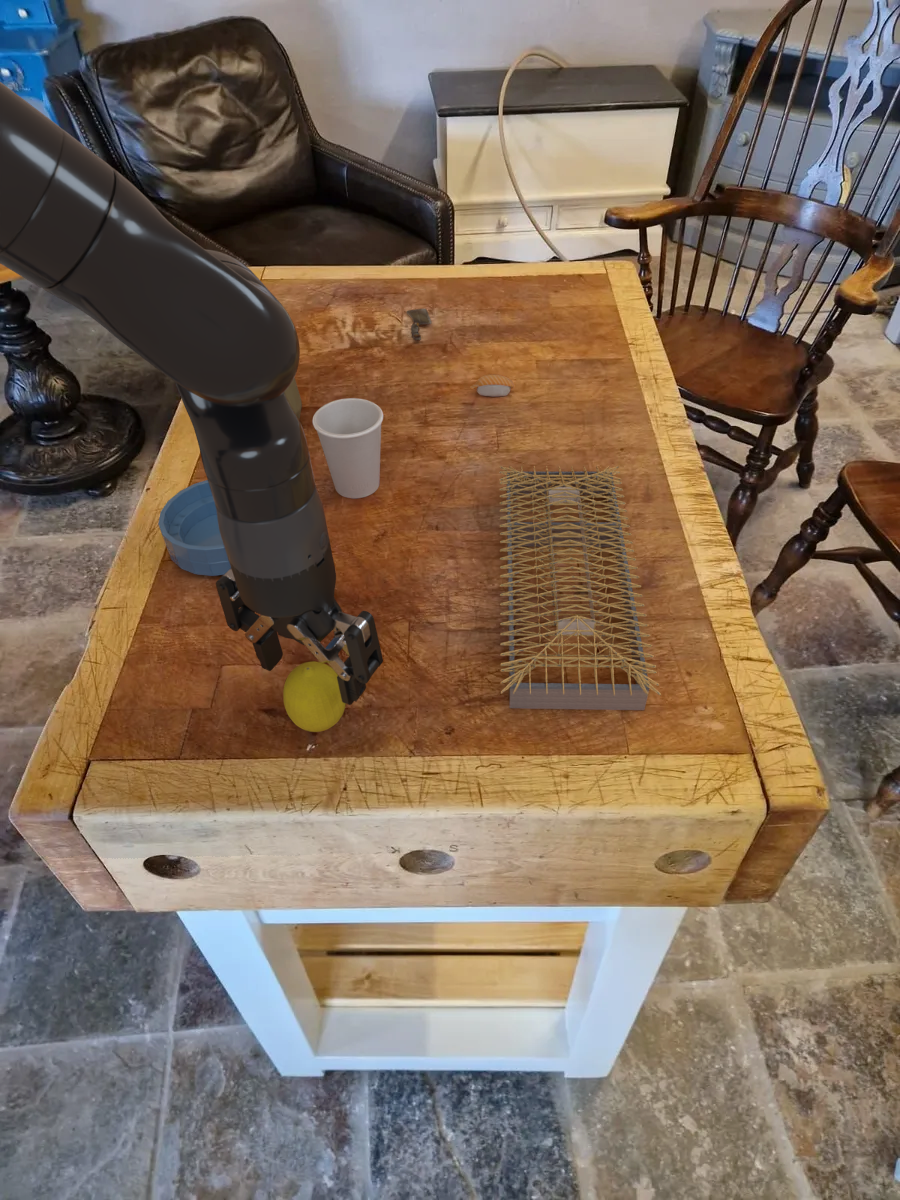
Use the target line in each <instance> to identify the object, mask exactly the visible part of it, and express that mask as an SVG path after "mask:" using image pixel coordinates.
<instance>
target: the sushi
mask: <svg viewBox="0 0 900 1200" xmlns="http://www.w3.org/2000/svg"><path fill="white" fill-rule="evenodd" d="M515 386H516V385H515V383H514V381H513V380H512V379H511V378H509V377H508V376H507V375H506V376H505V375H503V374H495V373H493V374H492V373H491V374H484V375H483V376H479V378H478V379H477V381H476V382H475V383H473V384H472V385H470V387H469V389H470V390H473V389H476V392H477V394H478V395H480V396H482V397H506V396H508V395H509V394H510V392H511V388H512V389H513V388H515Z"/></svg>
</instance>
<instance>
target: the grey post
mask: <svg viewBox="0 0 900 1200" xmlns="http://www.w3.org/2000/svg"><path fill="white" fill-rule="evenodd" d="M406 314H407V315H408V316H409V317H410V318H411V319H412V325H411V327H410V334H411V336H410V337H411V338H412V339H413V340H414V341H416V342H419V341H421V339H422V337H421V334H420V332H419V330H420V326H425V325H431V324H432V323H433V322H432V320H431V317H430V315H429V312H428V310H427V308H415V309H409V310H406Z"/></svg>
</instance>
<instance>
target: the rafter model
mask: <svg viewBox="0 0 900 1200" xmlns="http://www.w3.org/2000/svg"><path fill="white" fill-rule="evenodd" d="M499 468H500V469H501V470H500V471H499V474H501V475H505V476H504V477H501V478H499V485H506V486H503V487H500V488H499V491H505V492H506V493H503V494H500V495H499V498H506V500H503V501H500V502H499V505H506V507H504V508H501V509H499V512H500V513H501V512H502V513H506V515H504V516H500V517H499V520H506V522H505V523H503V524H499V528H506V531H502V532H499V535H500V536H506V539H502V540H499V543H500V544H506V547H504V548H500V549H499V552H506V556H502V557H500V558H499V561H506V562H507V563H506V564H504V565H501V566H499V569H500V570H501V569H502V570H506V569H507V573H505V574H500V575H499V578H507V582H503V583H501V584H499V588H500V587H501V588H503V587H505V588H506V587H507V591H506V592H502V593H500V594H499V596H500V597H507V601H504V602H500V604H499V606H507V610H506V611H503V612H500V613H499V614H500V616H507V621H503V622H500V623H499V625H500V626H507V627H508V630H507V631H504V632H500V633H499V636H508V637H507V638H508V641H504V642H500V646H508V651H505V652H501V653H500V656H502V657H503V656H505V657H507V656H508V661H506V662H501V663H500V667H505V668H501V669H500V672H508V676H507V678H505V679H503V680H502V681H500V684H501V685H502V684H505V683H508V684H507V685H506V686H505V687H504V688H503V689H502V690H501V691H500V695H502V694H503V693H504V692H506V691H507V690H508V693H509V694H508V695H509V696H508V697H509V700H508V701H509V709H530V710H531V709H532V710H535V709H536V710H537V709H538V710H541V709H542V710H597V711H600V710H601V711H602V710H603V711H605V710H606V711H608V710H609V711H617V710H618V711H645V710H646V705H647V701H648V698H649V693H650V690H651V691H652V692H654V693H655V694H657V695H658V696H660V697H661V696H662V693H661V692H660V691H659V690H658V689H657V688H656V687H655V686H657V687H659V686H660V683H659V682H658V681H656V680H654V679H652V678H650V677H649V676H648V674H658V671H657V670H655V669H656V668H657V664H654V663H649V662H646V659H645V658H655V655H654V654H651V653H647V652H644V648H652V647H653V644H651V643H646V642H643V641H642V638H651V634H649V633H646V632H642V631H641V630H640V627H649V624H648V623H644V622H641V621H639V618H638V617H647V614H646V613H643V612H640V611H637V607H644V608H645V607H646V606H645V605H646V604H645V603H641V602H638V601H635V598H643V597H644V594H642V593H638V592H634V590H633V588H640V589H641V588H642V585H641V584H637V583H634V582H632V579H640V576H639V575H636V574H632V573H630V570H638V569H639V567H638V566H634V565H631V564H629V561H631V562H635V561H637V558H636V557H632V556H628V555H627V553H635V549H632V548H629V547H626V545H627V544H628V545H633V544H634V541H631V540H629V539H625V538H624V536H629V537H630V536H632V535H633V534H632V533H631V532H628V531H624V530H623V528H631V525H629V524H626V523H624V522H622V521H623V520H625V521H629V517H627V516H625V515H622V514H621V515H620V513H628V509H625V508H622V507H619V505H626V504H627V502H625V501H623V500H618V498H625V494H621V493H618V492H619V491H622V492H623V491H624V488H622V487H619V486H616V485H622V484H623V481H622V477H621V478H620V477H617V476H615V475H618V474H621V471H620V470H618V469H619V468H620V465H616V466H614V467H610V465H607V467H605V469H603V470H601V471H600V469H599V467H598V465H596V466H595V468H596V471H592V470H591V471H589V470H588V471H587V469H586V467H585V465H583V470H582V471H581V470H580V471H579V470H578V471H574V468H573V465H570V470H571V471H562V470H561V467H560V465H558V471H549V469H548V465H546V466H545V470H546V471H536V467H535V466H533V471H523V465H520V470H518V469H516V468H515V467H513V466H511V465H508V467H506V466H502V465H499ZM616 491H617V492H616ZM522 498H531V500H530V501H529V500H525V499H524V500H523V499H522ZM534 498H536V499H534ZM591 498H592V499H591ZM595 498H604V499H603V500H595ZM545 499H546V500H545ZM515 501H518V502H515ZM538 501H541V502H538ZM584 501H590V502H584ZM511 505H512V506H511ZM524 505H532V508H527V507H522V506H524ZM534 505H537V506H534ZM591 505H593V506H591ZM596 505H603V506H605V507H601V508H597V507H596ZM551 506H563V507H561V508H557V509H551ZM568 506H569V507H568ZM570 506H577V509H576V508H572V507H570ZM516 508H517V509H516ZM541 508H542V509H541ZM586 508H589V509H586ZM591 509H592V510H591ZM523 513H532V515H531V516H529V515H524V514H523ZM535 513H538V514H535ZM592 513H594V514H592ZM597 513H606V514H605V515H600V516H599V515H597ZM551 514H564V515H561V516H557V517H552V516H551ZM569 514H570V515H569ZM571 514H578V517H577V516H574V515H571ZM546 515H547V516H546ZM516 516H519V517H516ZM540 516H543V517H540ZM586 516H590V517H586ZM512 520H513V521H512ZM526 520H532V521H526ZM535 520H537V521H535ZM594 520H595V522H594ZM598 520H600V522H599V521H598ZM601 520H602V521H601ZM621 520H622V521H621ZM605 521H606V522H605ZM555 547H556V548H558V547H559V548H566V549H554V548H555ZM516 548H519V549H516ZM575 548H582V549H575ZM591 548H592V549H591ZM513 552H516V553H513ZM530 552H532V553H533V552H534V557H533V556H528V555H523V554H526V553H530ZM545 552H546V553H547V552H550V553H547V554H545ZM537 553H539V554H541V555H539V556H537ZM598 553H600V555H596V554H598ZM602 553H609V554H613V555H610V556H606V557H605V556H604V557H603V556H602ZM556 555H575V556H576V555H579V556H580V555H581V556H582V555H583V558H576V557H572V556H570V557H566V558H565V557H564V558H563V557H562V558H560V557H559V558H558V557H557V558H555V556H556ZM591 557H594V558H591ZM513 561H516V562H513ZM529 561H535V565H530V564H524V563H525V562H529ZM538 561H539V562H540V563H542V564H539V565H537V564H538ZM544 561H551V562H544ZM590 561H594V562H590ZM600 561H601V563H600V564H597V563H598V562H600ZM604 561H607V562H611V563H614V564H610V565H605V566H604ZM556 564H584V566H574V565H573V566H572V565H571V566H566V567H565V566H555V565H556ZM517 565H519V566H517ZM516 569H517V570H516ZM513 570H515V571H513ZM530 570H535V574H530V573H525V572H526V571H530ZM538 570H540V571H541V572H543V573H540V574H538ZM545 570H551V571H545ZM591 570H596V571H591ZM601 570H602V573H598V572H599V571H601ZM605 570H609V571H613V572H617V573H612V574H607V575H605ZM557 573H577V574H579V573H581V574H582V573H583V574H584V573H585V575H556V574H557ZM517 574H520V575H517ZM515 578H516V579H517V578H520V579H517V580H513V579H515ZM535 578H536V583H531V582H525V581H527V580H530V579H535ZM539 579H540V580H541V581H543V582H542V583H538V582H539ZM546 579H552V580H550V581H547V580H546ZM591 579H597V580H595V581H594V580H591ZM606 579H609V580H613V581H617V582H613V583H608V584H606ZM601 580H603V583H602V582H599V581H601ZM517 583H519V584H517ZM520 583H521V584H520ZM557 583H586V585H585V584H582V585H581V584H580V585H579V584H557ZM515 587H516V588H518V587H519V588H518V589H514V588H515ZM532 588H536V593H535V592H531V591H530V592H529V591H524V590H528V589H532ZM546 588H553V589H552V590H548V589H546ZM572 588H577V589H572ZM592 588H598V589H597V590H593V589H592ZM608 588H610V589H614V590H617V591H618V592H612V593H611V592H610V593H607V591H608ZM539 589H542V590H543V591H544V592H541V593H539ZM603 589H605V590H604V592H601V590H603ZM559 592H587V594H566V593H565V594H564V593H563V594H562V593H561V594H559ZM514 597H520V598H516V599H514ZM534 597H537V601H536V602H532V601H526V599H527V600H528V599H531V598H534ZM546 597H553V599H552V600H549V599H547V598H546ZM558 597H560V598H558ZM593 597H596V598H598V597H599V598H598V599H597V600H596V599H593ZM609 597H610V598H614V599H617V600H621V601H617V602H611V603H609ZM540 598H541V599H544V600H545V601H544V602H541V603H540ZM571 598H578V599H571ZM604 599H606V602H603V600H604ZM517 602H518V603H517ZM519 602H521V603H519ZM558 602H588V603H558ZM596 603H597V604H596ZM514 606H523V607H519V608H515V609H514ZM534 607H537V612H534V611H529V610H526V609H530V608H534ZM540 607H541V608H542V609H544V610H545V612H541V613H540ZM547 607H554V609H553V610H550V609H548V608H547ZM559 607H561V608H559ZM594 607H602V608H600V609H597V610H596V609H594ZM572 608H580V609H572ZM606 608H608V609H607V612H604V611H603V610H604V609H606ZM610 608H615V609H619V610H622V611H617V612H611V613H610ZM519 612H520V613H519ZM521 612H523V613H521ZM559 612H589V613H559ZM514 616H524V617H520V618H515V619H514ZM545 616H548V617H550V616H552V617H553V616H555V618H554V619H555V620H551V619H549V618H547V617H545ZM559 616H560V617H561V616H562V617H563V618H560V619H559ZM565 616H566V617H565ZM535 617H538V619H537V620H538V621H537V622H534V621H529V620H526V619H531V618H535ZM589 617H590V618H589ZM595 617H603V618H602V619H600V620H597V619H596V618H595ZM612 617H613V618H616V619H621V620H624V621H619V622H618V621H617V622H614V623H613V622H612V623H611V621H612ZM541 618H543V619H545V620H546V621H547V622H543V623H540V619H541ZM608 618H609V620H608V622H604V620H606V619H608ZM518 622H519V623H518ZM520 622H522V623H520ZM523 622H524V623H523ZM515 626H525V627H521V628H516V629H515V628H514V627H515ZM546 626H550V627H551V626H553V627H554V626H555V627H556V629H555V630H550V629H549V628H547V627H546ZM536 627H538V632H534V631H528V629H532V628H536ZM596 627H605V628H603V629H601V630H598V629H596ZM541 628H543V629H545V630H546V631H547V632H542V633H541ZM614 628H617V629H620V630H624V631H623V632H615V633H613V629H614ZM608 629H610V632H609V633H608V632H605V631H606V630H608ZM519 632H521V633H519ZM515 636H517V637H519V636H524V637H522V638H518V639H515ZM536 637H539V643H538V642H533V641H527V640H529V639H532V638H533V639H534V638H536ZM548 637H554V638H553V639H552V640H551V639H550V638H548ZM560 637H561V638H560ZM563 637H565V639H563ZM572 637H577V643H564V642H566V641H567V640H569V639H570V638H572ZM579 637H583V639H585V640H586V641H587V642H588V643H580V638H579ZM587 637H593V642H592V641H591V640H590V639H588V638H587ZM603 637H607V638H604V639H603ZM627 637H628V638H627ZM542 638H544V639H545V640H547V641H549V642H545V643H542ZM596 638H598V639H599V640H601V641H599V642H598V641H597V642H596ZM611 638H612V639H611ZM615 638H618V639H622V640H625V642H619V643H614V641H615ZM556 639H557V642H555V641H556ZM560 639H561V641H560ZM609 639H610V640H611V643H609V642H607V640H609ZM519 642H521V643H519ZM515 646H516V647H517V646H518V647H519V646H527V647H523V648H519V649H515ZM540 647H544V648H543V649H542V650H541V651H540V652H537V651H531V650H530V649H534V648H540ZM551 647H558V651H557V652H556V651H555V650H554V649H553V648H551ZM564 647H570V648H568V649H567V650H566V649H565V650H564ZM585 647H594V653H593V652H592V651H590V650H588V649H587V648H585ZM598 647H604V648H603V649H602V650H600V651H599V652H597V651H598ZM614 647H615V648H618V649H622V650H626V651H624V652H617V651H616V650H615V649H614ZM547 648H548V649H549V650H550V651H551V652H553V653H554V654H553V653H552V654H549V653H548V654H547ZM575 648H577V653H578V654H565V653H567V652H569V651H571V650H574V649H575ZM580 648H581V649H582V650H584V651H585V652H587V653H588V654H580ZM608 649H609V650H608ZM560 650H561V651H560ZM606 650H608V654H601V653H603V652H604V651H606ZM520 652H525V653H520ZM625 654H626V655H625ZM628 654H629V655H628ZM515 657H523V658H518V659H515ZM529 660H531V661H530V662H529ZM541 660H544V662H542V661H541ZM555 660H558V662H557V661H555ZM564 660H567V661H565V662H564ZM588 660H589V661H588ZM591 660H592V661H594V662H591ZM599 661H601V662H600V663H599ZM614 661H616V662H614ZM628 661H629V662H628ZM536 662H537V663H536ZM548 662H551V663H548ZM574 662H577V664H575V663H574ZM581 662H584V663H586V664H581ZM608 662H610V664H606V663H608ZM571 663H574V664H571ZM620 663H621V664H620ZM537 667H539V668H540V667H541V668H543V667H544V673H545V682H531V681H532V680H531V679H532V678H531V672H532V671H533V670H534V669H535V668H537ZM548 667H551V668H560V669H561V670H560V671H561V683H560V682H559V683H558V682H557V683H555V682H548ZM564 668H577V676H578V683H568V682H567V683H566V682H565V678H564V677H565V676H564V675H565V674H564ZM581 668H593V673H594V682H595V683H581ZM597 668H609V671H610V676H611V677H610V678H611V683H598V672H597V671H598V669H597ZM614 668H618V669H621V670H623V671H624V672H625V673H626V674H627V682H628V683H615V675H614V674H615V673H614ZM527 675H528V682H522V681H523V679H524V678H525V676H527ZM631 677H632V678H633V679H634V681H635V684H634V683H632V679H631ZM654 685H655V686H654Z"/></svg>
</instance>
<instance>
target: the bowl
mask: <svg viewBox="0 0 900 1200" xmlns="http://www.w3.org/2000/svg"><path fill="white" fill-rule="evenodd" d="M157 523H158V524H157V525H158V527H159V530H160V533H161V536H162V538H163V541H164V544H165V547H166V549H167V552H168V555H169V557H170V560H171V561H172V562H173V563H174V564H175V565H177V566H178V568H180V569H181V570H184V571H186V572H188V573H191V574H193V575H199V576H209V577H216V576H223V575H224V574H225V573H226V572H227V571H228V570H229V569H230V568H231V566H230V563H229V560H228V556H227V553H226V550H225V547H224V544H223V540H222V537H221V534H220V530H219V525H218V519H217V511H216V506H215V502H214V499H213V495H212V492H211V489H210V486H209V482H208V479H206V480H201V481H199V482H196V483H195V482H194V483H193V484H191V485H189V486H187V487H185V488H183V489H181V490H179V491H178V492H177V493H176V494H174V496H171V498H170V499H168V501H167V502H166V503H165V505H164V506H163V507H162V509H161V510H160V513H159V517H158V522H157Z"/></svg>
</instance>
